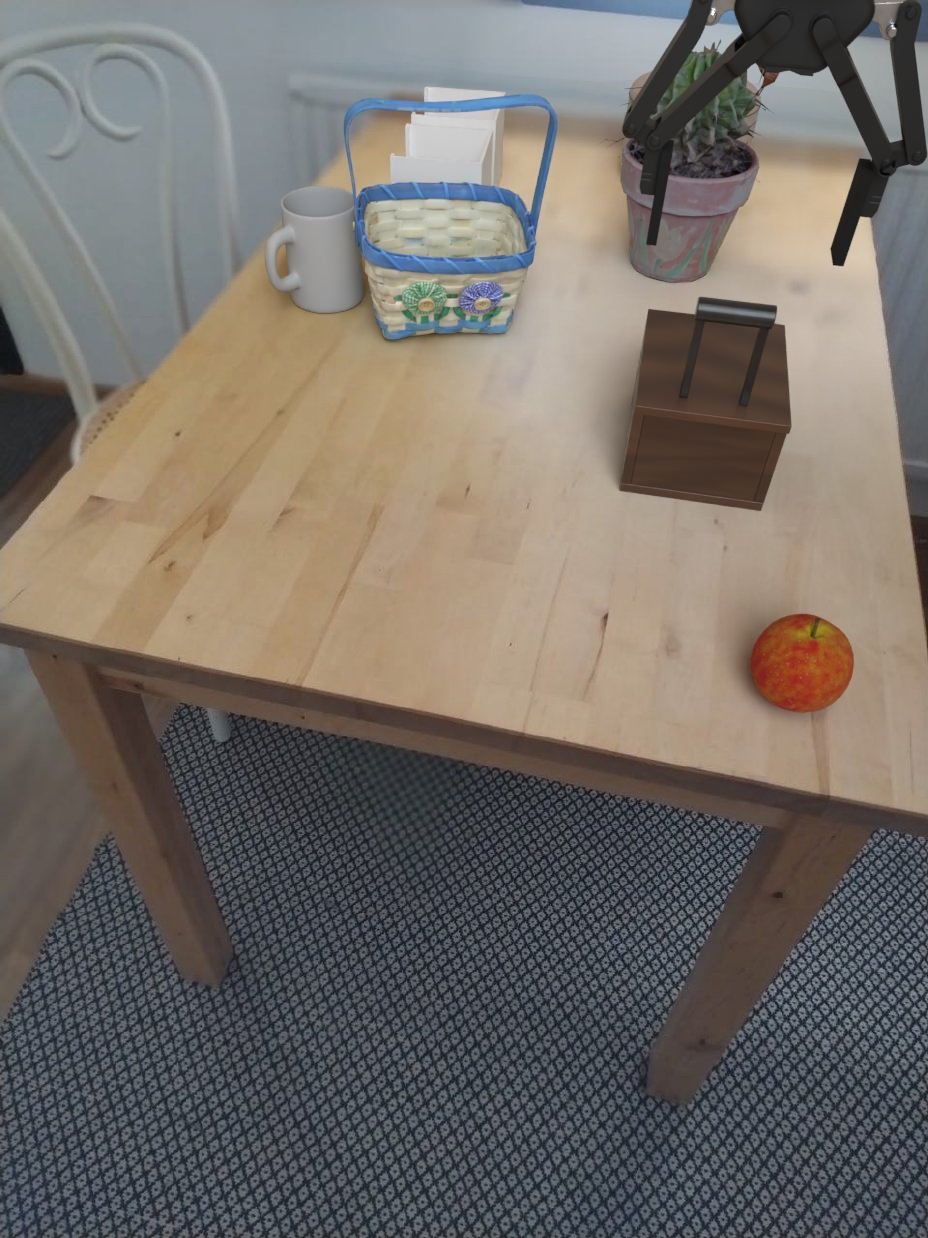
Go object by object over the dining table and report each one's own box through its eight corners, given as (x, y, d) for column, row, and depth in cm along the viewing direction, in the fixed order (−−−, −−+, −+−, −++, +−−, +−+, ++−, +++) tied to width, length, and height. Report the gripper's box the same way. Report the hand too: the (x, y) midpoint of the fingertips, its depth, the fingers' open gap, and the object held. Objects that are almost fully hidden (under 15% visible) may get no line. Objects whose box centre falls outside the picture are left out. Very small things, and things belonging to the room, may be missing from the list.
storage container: (479, 254, 116) (482, 163, 108) (393, 247, 117) (389, 156, 109) (501, 175, 133) (505, 91, 125) (426, 169, 134) (425, 86, 126)
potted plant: (565, 239, 120) (588, 15, 101) (704, 225, 123) (750, 7, 105) (614, 307, 108) (650, 69, 89) (766, 290, 111) (831, 57, 93)
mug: (332, 271, 112) (324, 178, 104) (379, 296, 108) (374, 201, 100) (252, 305, 106) (236, 209, 98) (298, 333, 102) (286, 235, 94)
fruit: (840, 738, 66) (879, 666, 60) (742, 724, 67) (771, 652, 61) (830, 665, 71) (865, 592, 65) (738, 653, 72) (765, 579, 66)
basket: (363, 367, 98) (347, 131, 81) (352, 291, 109) (335, 69, 92) (554, 354, 101) (577, 122, 83) (524, 281, 112) (539, 63, 94)
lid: (789, 434, 76) (824, 328, 69) (633, 413, 78) (653, 308, 71) (782, 332, 87) (812, 232, 80) (646, 316, 89) (664, 216, 82)
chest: (761, 511, 83) (788, 429, 77) (619, 490, 85) (634, 408, 78) (758, 412, 94) (782, 332, 87) (632, 395, 95) (646, 316, 89)
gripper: (1044, -108, 55) (910, 243, 70) (622, -134, 58) (583, 208, 73) (1075, -82, 50) (923, 290, 65) (611, -112, 53) (571, 251, 68)
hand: (743, 247), depth 69 cm, fingers open, 13 cm apart
